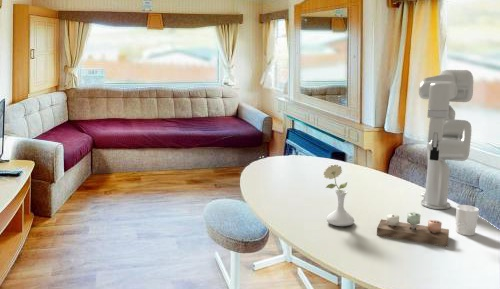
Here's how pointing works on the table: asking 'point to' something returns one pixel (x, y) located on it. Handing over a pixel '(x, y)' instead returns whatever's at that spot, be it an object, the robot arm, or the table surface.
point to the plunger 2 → (413, 219)
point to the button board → (413, 233)
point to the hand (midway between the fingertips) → (434, 159)
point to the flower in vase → (339, 215)
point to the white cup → (466, 219)
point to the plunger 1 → (392, 220)
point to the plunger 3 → (434, 226)
